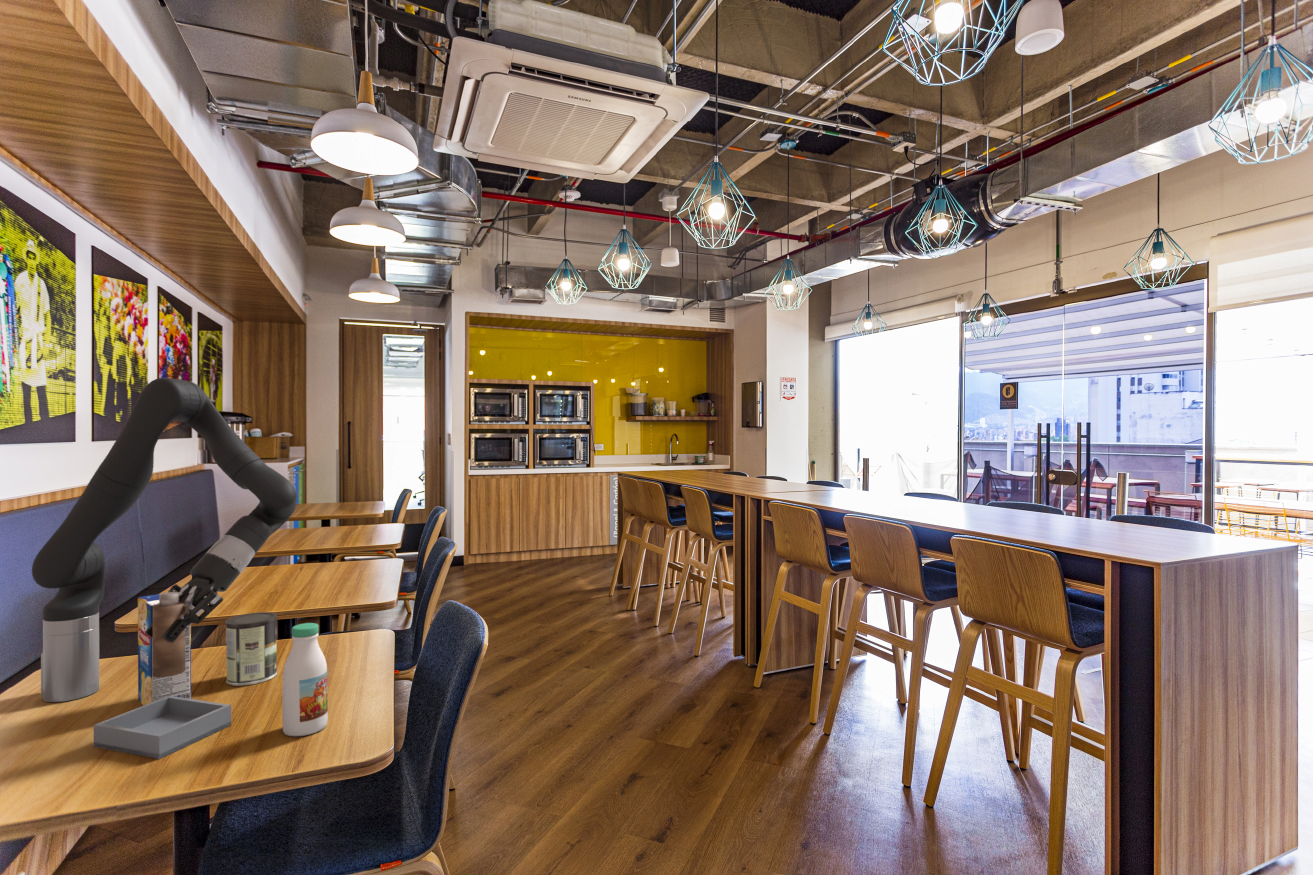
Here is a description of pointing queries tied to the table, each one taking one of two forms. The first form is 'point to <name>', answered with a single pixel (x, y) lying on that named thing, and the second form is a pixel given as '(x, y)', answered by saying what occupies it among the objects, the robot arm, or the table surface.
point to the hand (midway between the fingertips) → (158, 637)
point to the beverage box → (147, 684)
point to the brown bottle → (165, 653)
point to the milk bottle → (305, 684)
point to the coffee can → (251, 648)
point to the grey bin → (162, 726)
